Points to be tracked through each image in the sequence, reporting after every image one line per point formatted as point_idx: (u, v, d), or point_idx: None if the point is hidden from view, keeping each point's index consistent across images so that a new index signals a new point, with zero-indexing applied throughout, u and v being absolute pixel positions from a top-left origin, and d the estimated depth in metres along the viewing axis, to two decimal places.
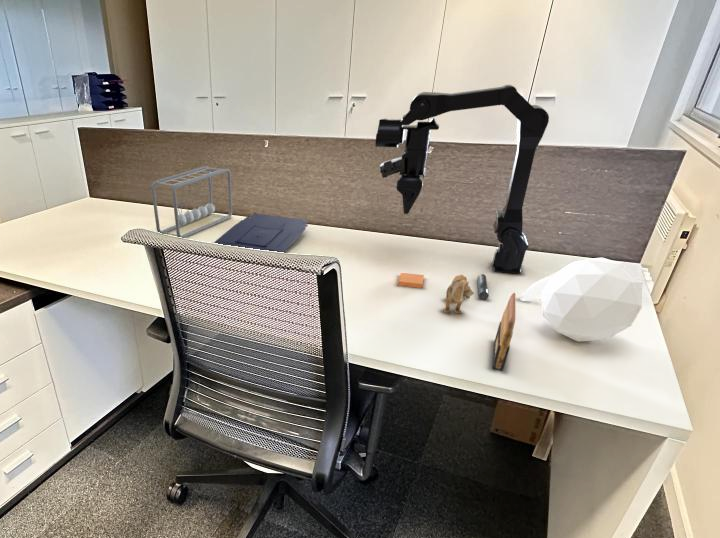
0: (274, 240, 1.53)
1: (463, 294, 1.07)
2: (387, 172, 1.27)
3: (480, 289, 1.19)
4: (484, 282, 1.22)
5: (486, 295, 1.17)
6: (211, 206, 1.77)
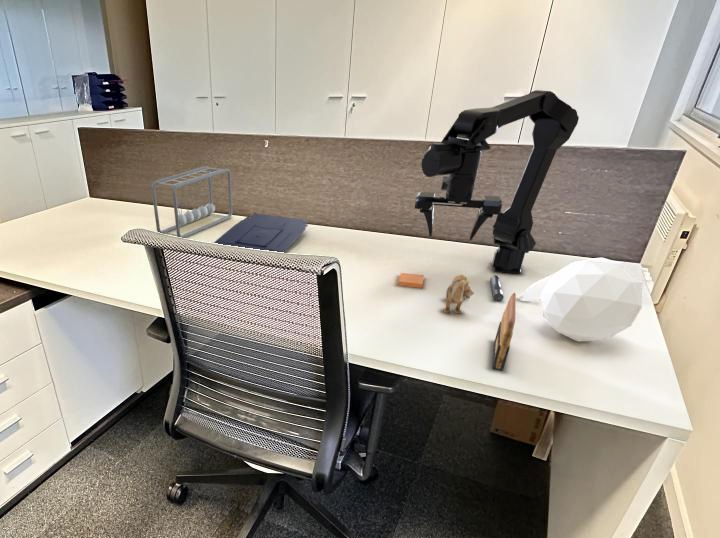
0: (274, 240, 1.53)
1: (463, 294, 1.07)
2: None
3: None
4: None
5: (495, 298, 1.17)
6: (211, 206, 1.77)
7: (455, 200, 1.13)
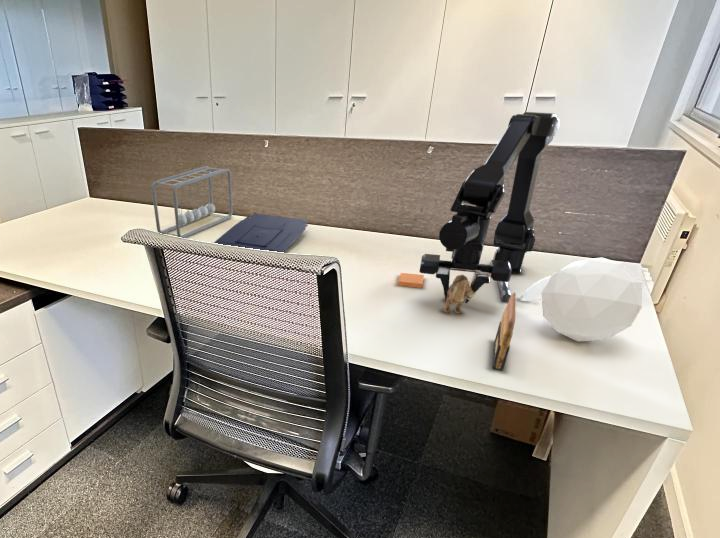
0: (274, 240, 1.53)
1: (464, 294, 1.07)
2: None
3: None
4: (500, 286, 1.21)
5: (506, 296, 1.16)
6: (211, 206, 1.77)
7: (462, 266, 1.07)
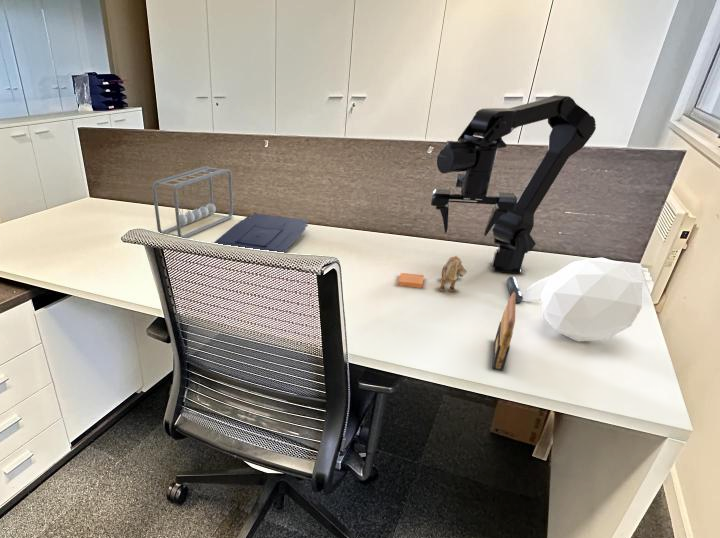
0: (274, 240, 1.53)
1: (457, 273, 1.17)
2: (455, 185, 1.24)
3: (516, 291, 1.17)
4: None
5: (520, 300, 1.15)
6: (212, 206, 1.76)
7: (471, 197, 1.16)
